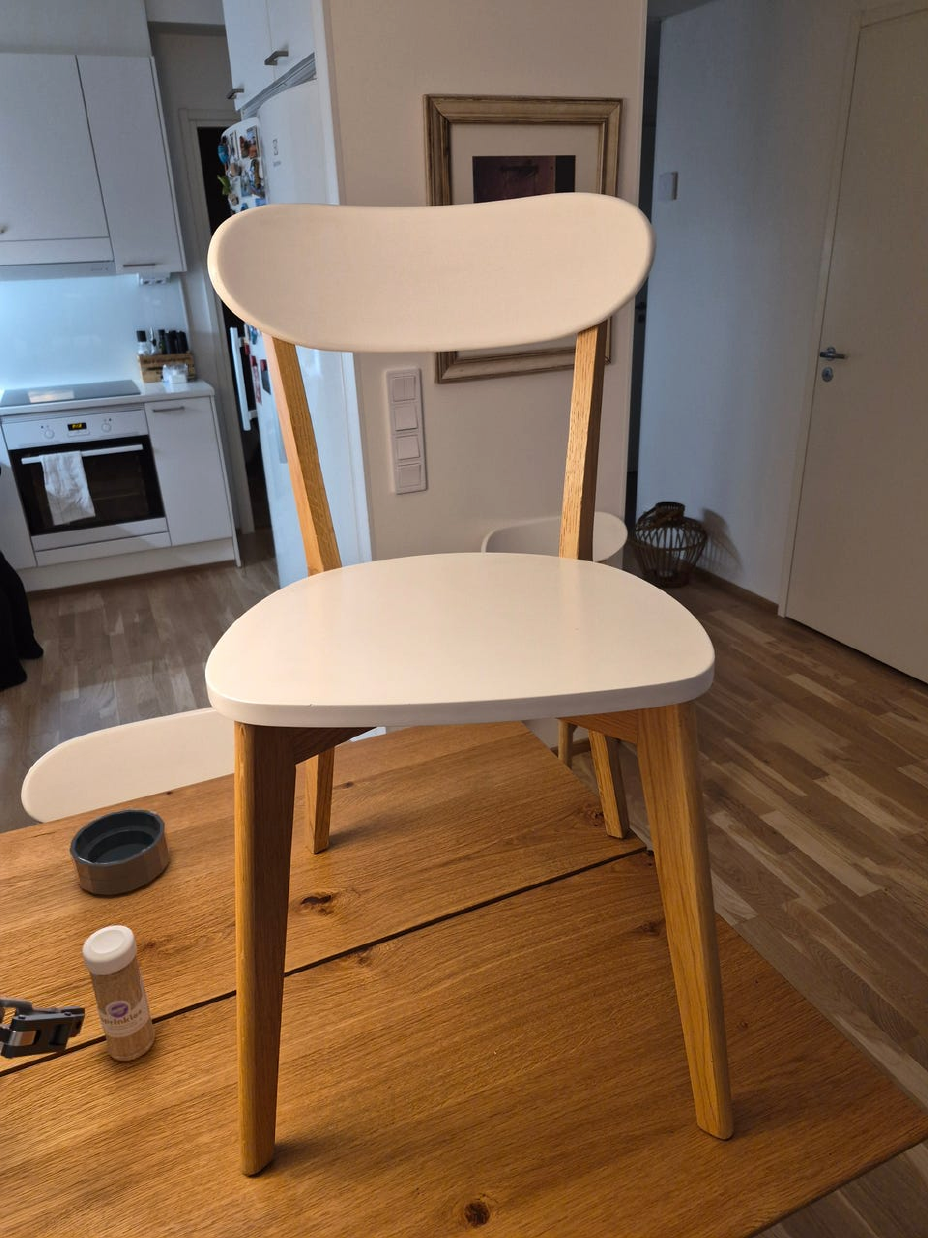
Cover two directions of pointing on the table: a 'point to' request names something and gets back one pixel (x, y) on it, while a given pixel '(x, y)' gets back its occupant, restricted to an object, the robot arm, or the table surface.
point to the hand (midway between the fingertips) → (35, 1010)
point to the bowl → (120, 851)
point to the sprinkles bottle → (119, 992)
